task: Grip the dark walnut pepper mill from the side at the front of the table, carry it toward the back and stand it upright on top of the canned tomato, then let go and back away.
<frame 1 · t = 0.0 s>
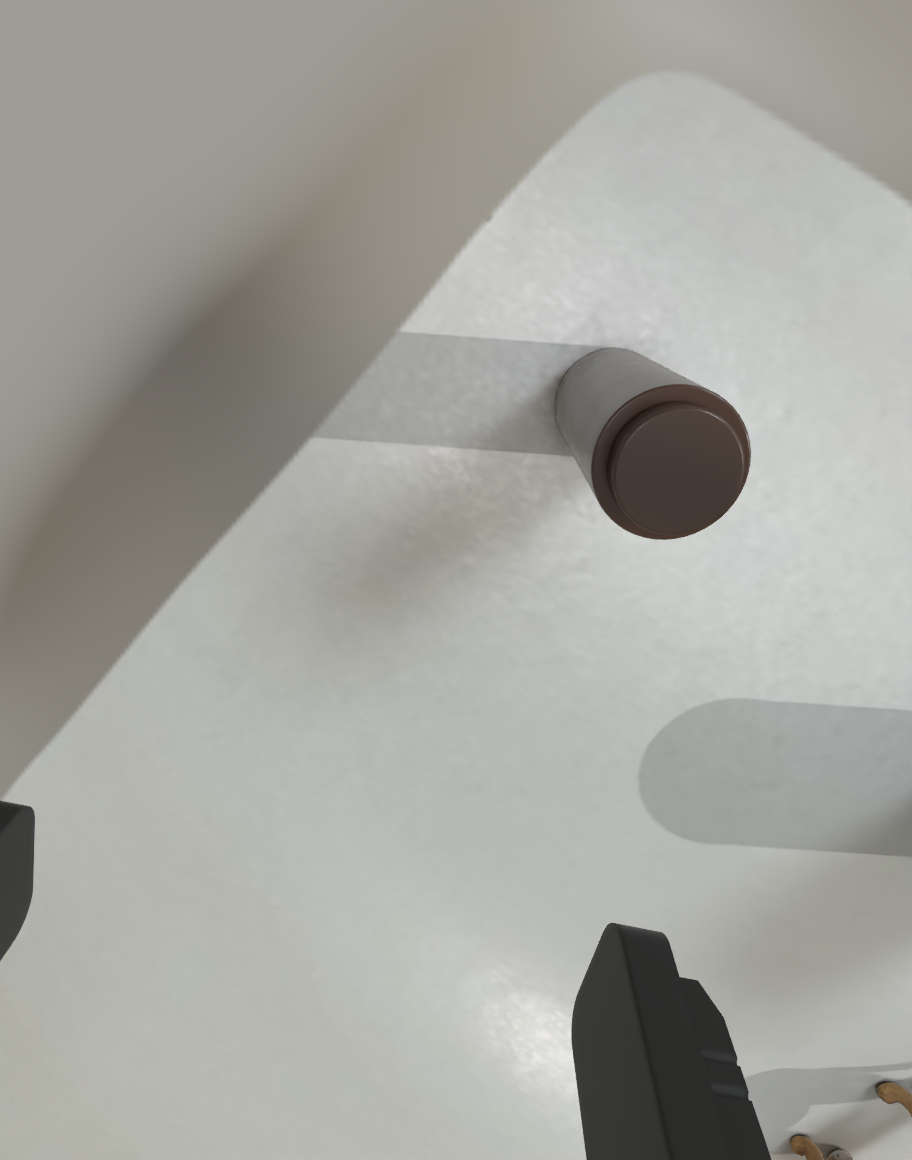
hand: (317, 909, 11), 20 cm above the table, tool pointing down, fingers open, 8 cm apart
lion figurine: (862, 1125, 43), on the table
pepper mill: (609, 404, 28), on the table
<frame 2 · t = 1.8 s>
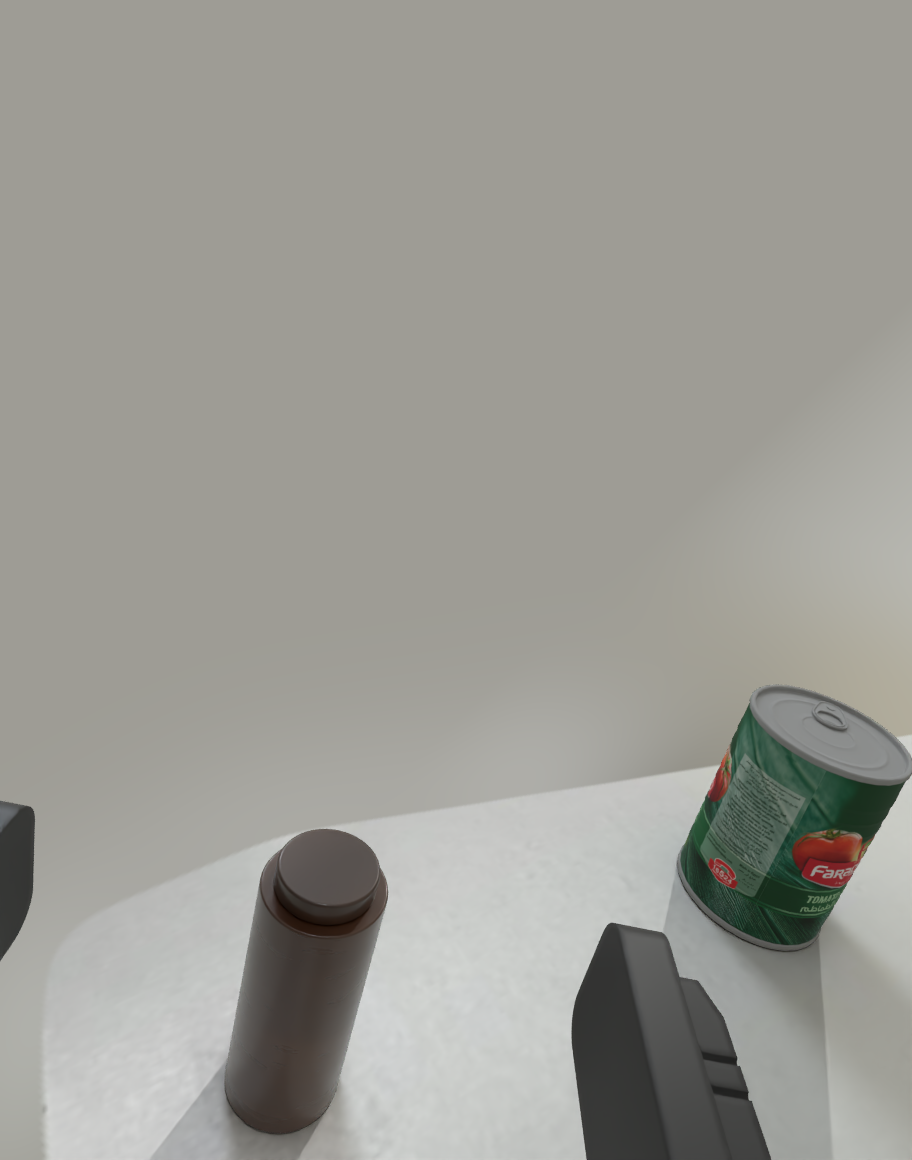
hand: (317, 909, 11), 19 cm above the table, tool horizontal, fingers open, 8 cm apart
canned tomato: (745, 893, 42), on the table
pepper mill: (282, 1074, 27), on the table
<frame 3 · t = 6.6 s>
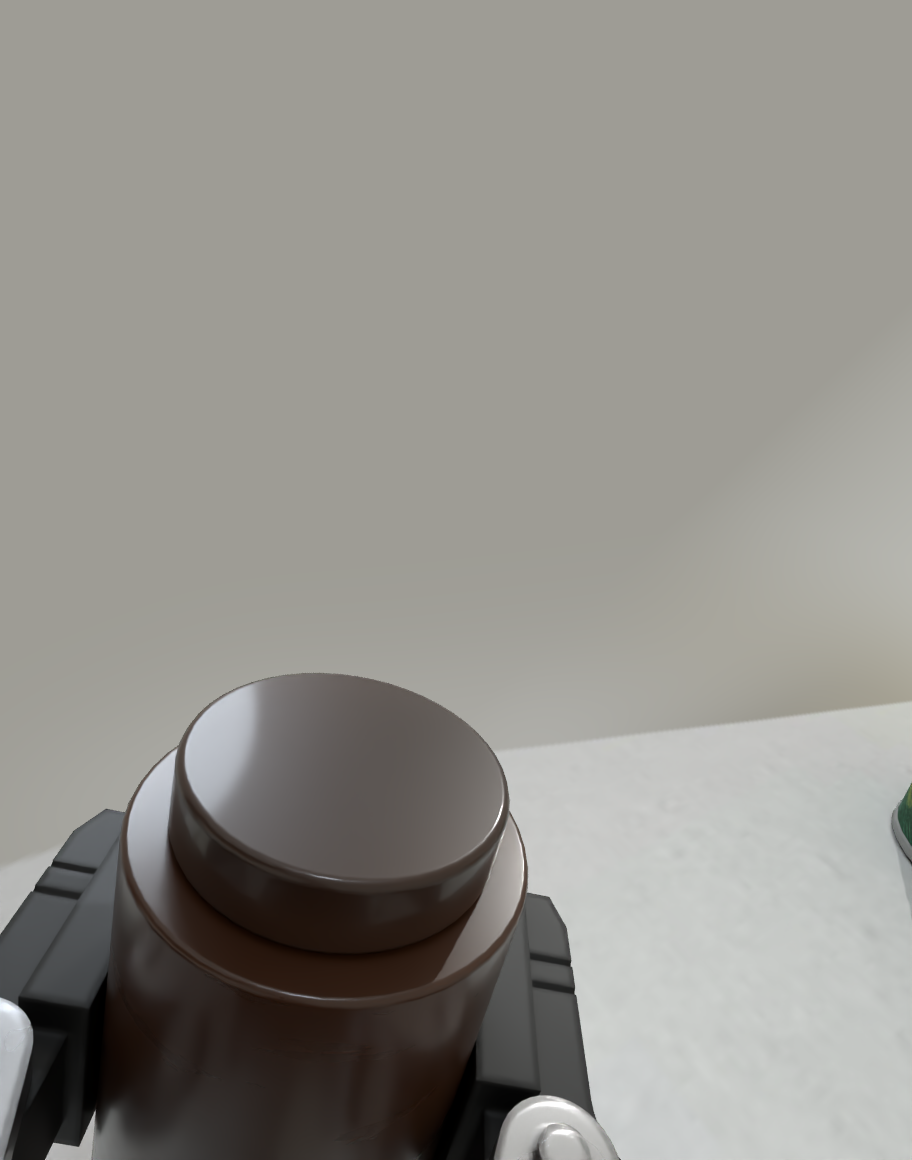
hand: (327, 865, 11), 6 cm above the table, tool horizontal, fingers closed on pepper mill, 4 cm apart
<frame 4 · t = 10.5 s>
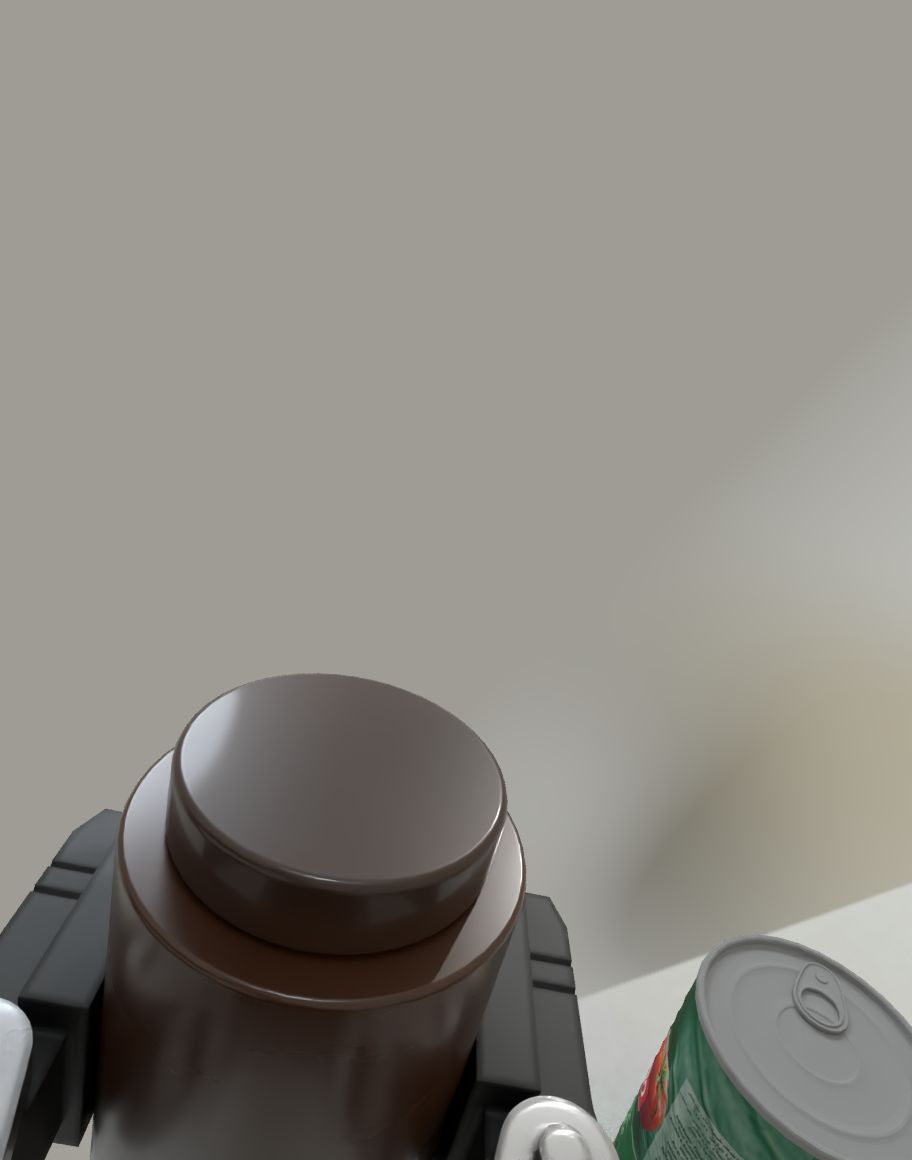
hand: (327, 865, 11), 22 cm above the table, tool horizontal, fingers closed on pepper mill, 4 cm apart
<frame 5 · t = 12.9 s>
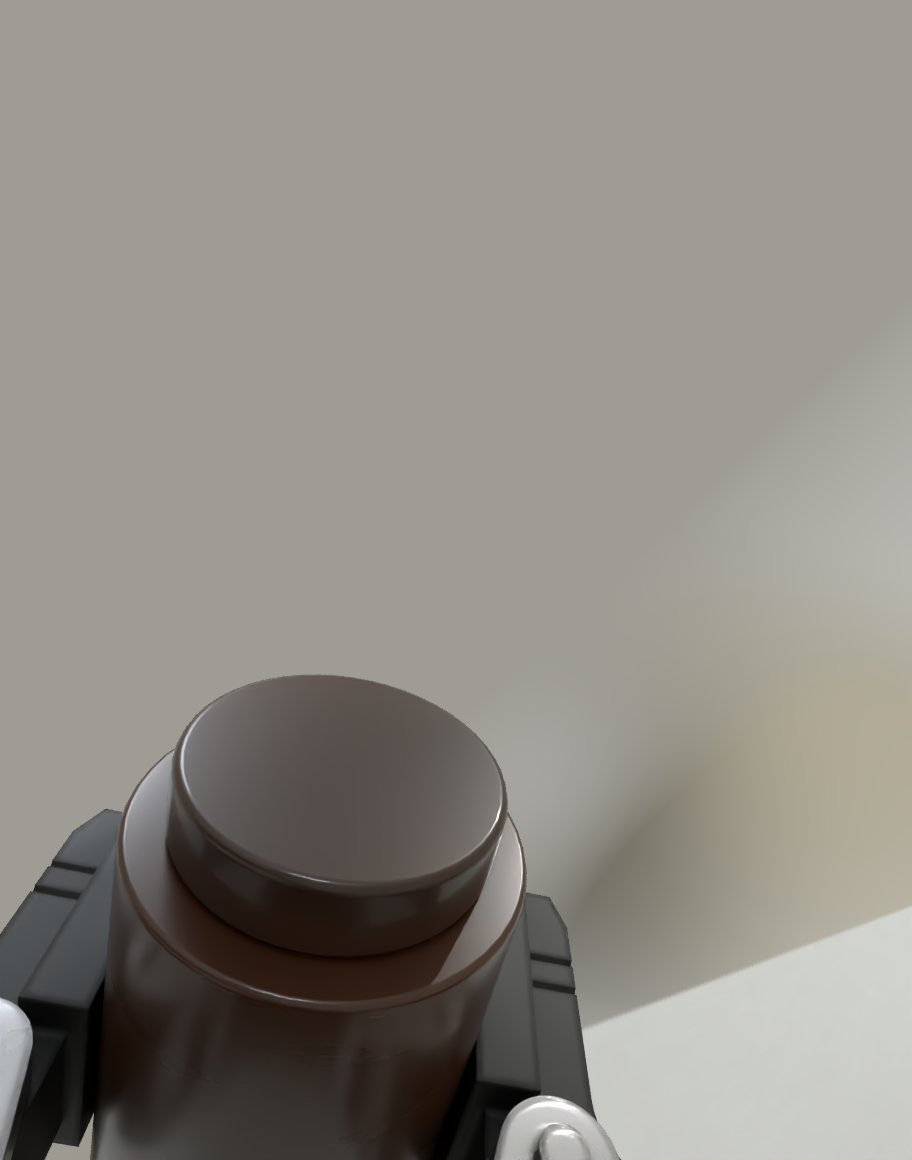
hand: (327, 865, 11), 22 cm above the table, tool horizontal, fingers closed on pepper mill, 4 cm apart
when the fingers open (17 cm above the table, at t = 14.7 s): pepper mill stays where it is, resting on canned tomato.
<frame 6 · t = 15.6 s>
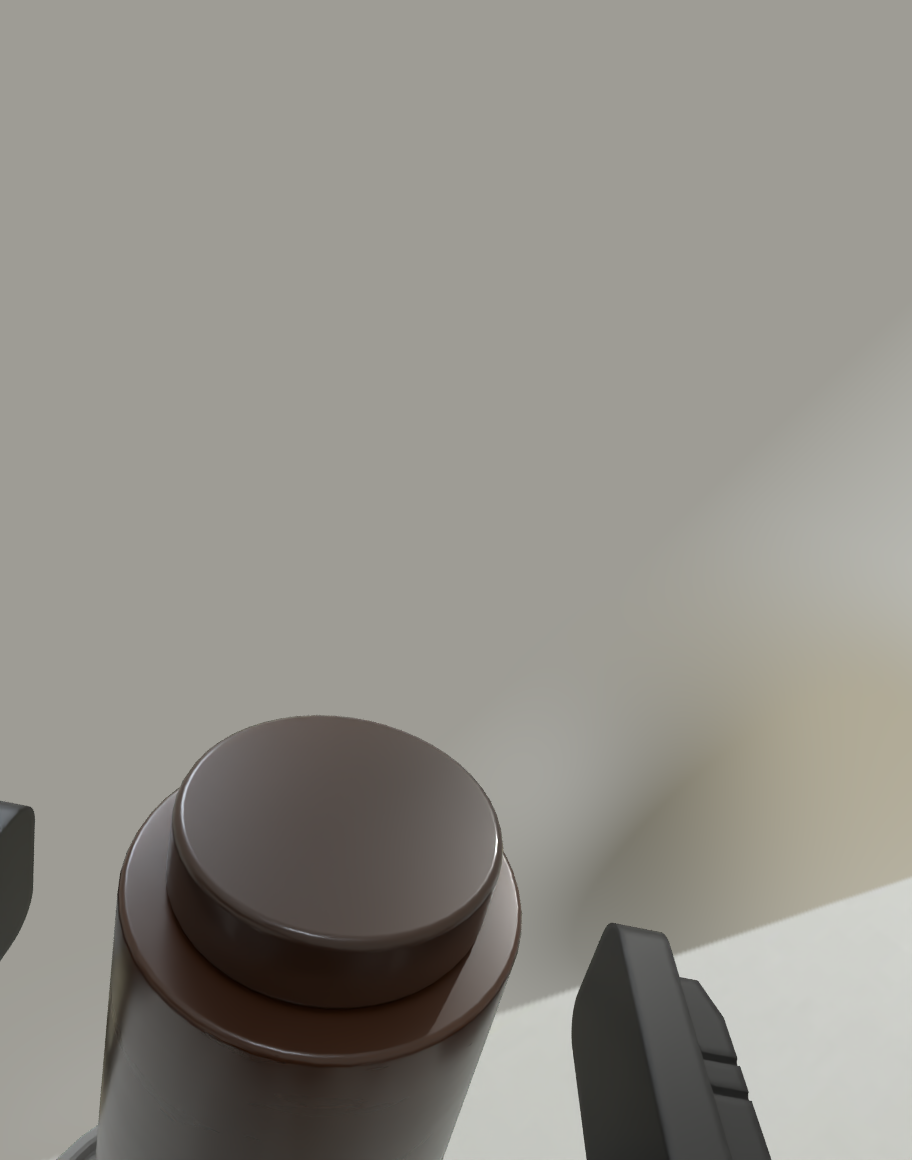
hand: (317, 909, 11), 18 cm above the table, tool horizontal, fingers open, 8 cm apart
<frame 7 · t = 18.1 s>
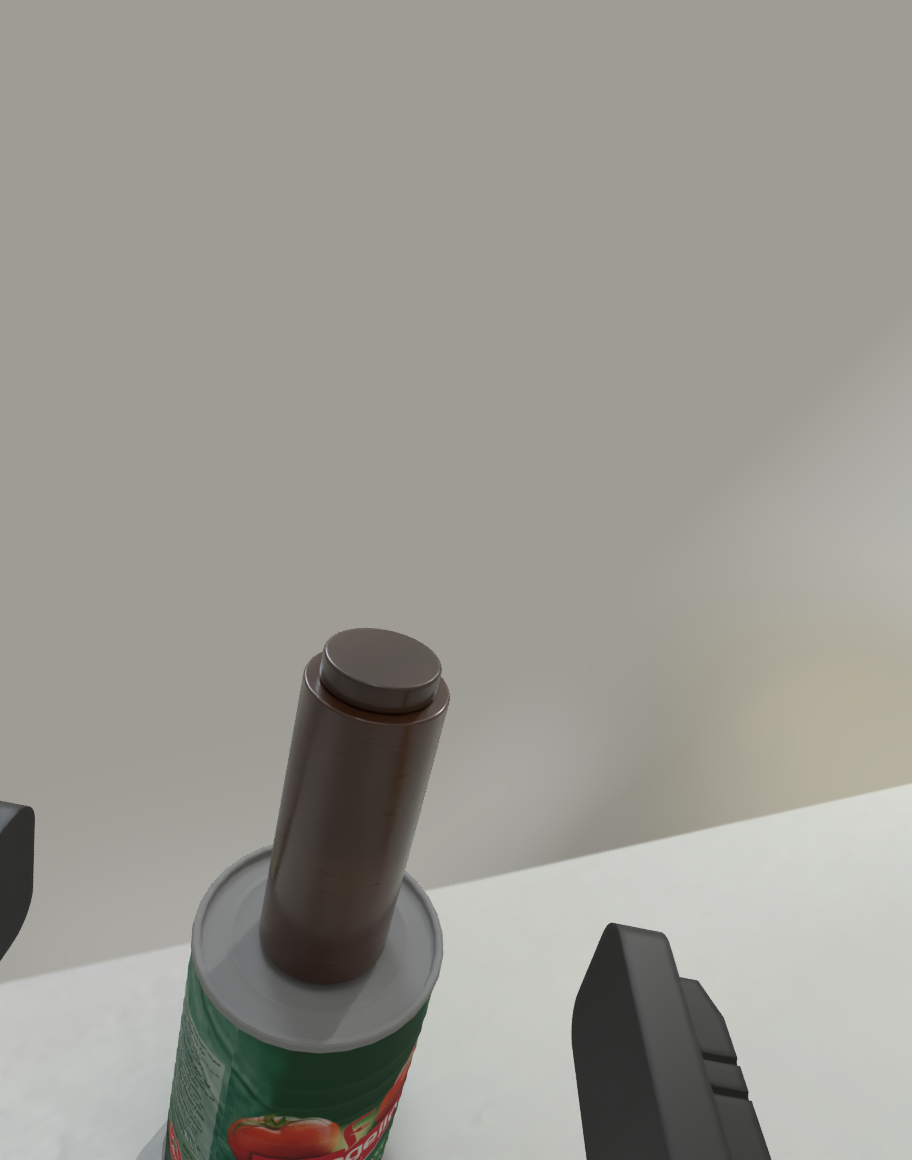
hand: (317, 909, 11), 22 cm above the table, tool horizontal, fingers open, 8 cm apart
canned tomato: (274, 1146, 28), on the table, touching pepper mill
pepper mill: (323, 929, 24), point 11 cm above the table, touching canned tomato
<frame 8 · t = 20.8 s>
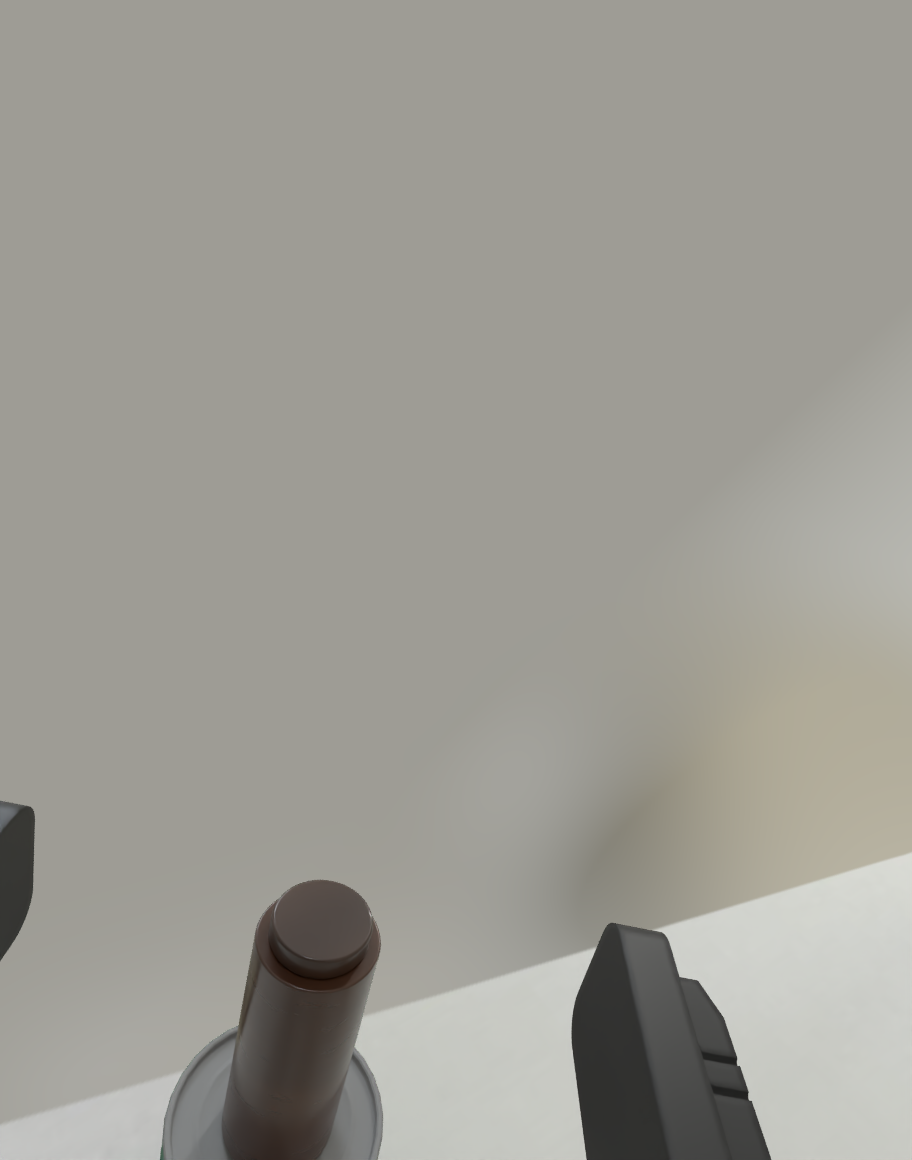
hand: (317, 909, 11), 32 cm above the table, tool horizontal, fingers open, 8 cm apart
pepper mill: (278, 1117, 28), point 11 cm above the table, touching canned tomato
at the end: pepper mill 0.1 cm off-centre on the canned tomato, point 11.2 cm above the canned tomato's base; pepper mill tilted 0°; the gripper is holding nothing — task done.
